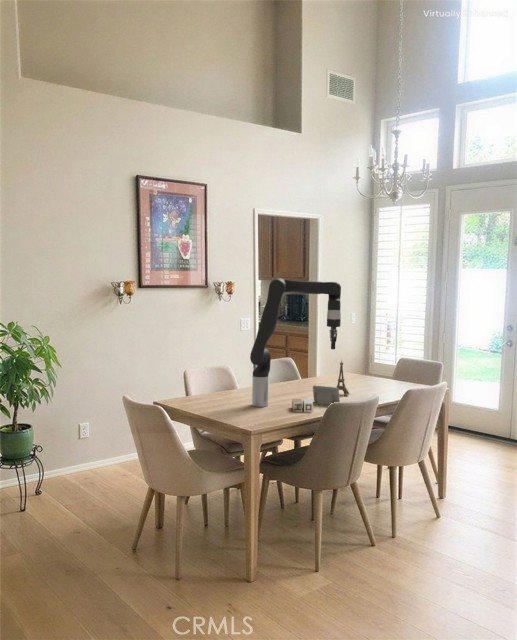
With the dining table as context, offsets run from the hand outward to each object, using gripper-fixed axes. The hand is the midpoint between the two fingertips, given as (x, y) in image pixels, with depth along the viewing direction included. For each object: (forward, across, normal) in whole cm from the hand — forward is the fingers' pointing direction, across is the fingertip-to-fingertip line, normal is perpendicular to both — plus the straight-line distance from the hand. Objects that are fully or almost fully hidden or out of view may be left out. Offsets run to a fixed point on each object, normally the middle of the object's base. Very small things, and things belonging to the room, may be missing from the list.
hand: (333, 349), depth 307 cm
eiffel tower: (+35, -48, +12) cm, 61 cm away
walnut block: (+33, +2, -19) cm, 38 cm away
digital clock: (+35, -20, -1) cm, 41 cm away
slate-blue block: (+33, +2, -13) cm, 35 cm away
